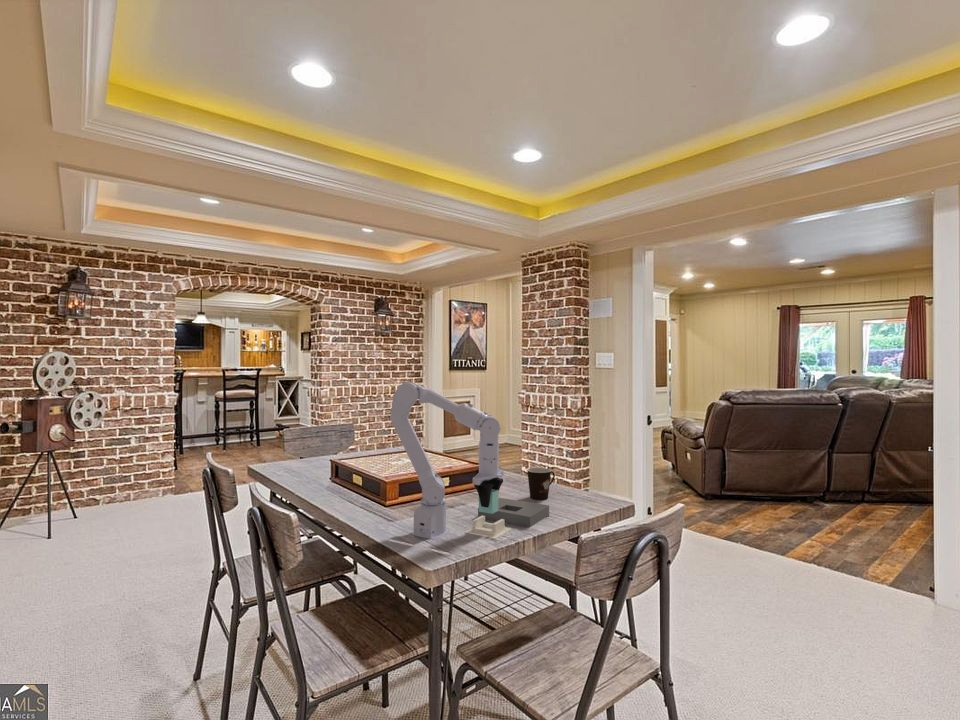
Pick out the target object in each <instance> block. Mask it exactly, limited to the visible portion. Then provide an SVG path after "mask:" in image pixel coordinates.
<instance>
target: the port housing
mask: <svg viewBox="0 0 960 720" xmlns="http://www.w3.org/2000/svg"><path fill="white" fill-rule="evenodd" d="M480 516H485V520H489V521H494V522H497V521H499V520H501V519H504V520H505V524H510V525H517V526H522V527H525V528H526V527H527V528H531V527H533V526H534V525H536V524H537V523H539V522H541V521H542V520H544V519H545V518H546V519H548V518H549V517H550V505H547V504H542V503H536V502H528V501H523V500H517V499H512V498H511V499H510V498H509V499H508V498H503V497H498V511H497V512H495V513H493V514H491V513H485V512H479V507H478V508H477V518H478V517H480ZM547 517H548V518H547Z"/></svg>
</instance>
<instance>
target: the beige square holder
mask: <svg viewBox="0 0 960 720" xmlns="http://www.w3.org/2000/svg"><path fill="white" fill-rule="evenodd" d="M505 525H506V523H505V520H504V519H501V520H499V521H494V522H492V523H491V522H487V521H486V519H485V516H480V517H478V516H477V517H476V518H475V519H472V527H471V528H470V529H468V530H466V531H464V533H466V534H470V535H475V536H481V537H485V538H490V539H497V538H499V537H500V536H502V535H504V534H505V533H507V532H509V531H510V530H512V528H511V527H506V526H505Z"/></svg>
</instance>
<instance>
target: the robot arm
mask: <svg viewBox="0 0 960 720" xmlns="http://www.w3.org/2000/svg"><path fill="white" fill-rule="evenodd" d="M416 401H418V404H431V405H433V406H436V407H437V408H439V409H442V410H444V411H446V412H447V413H450V414H452V415H453V416H454V419H455V421H456V422H459V423H460V424H462V425H464V426H465V427H468V428H470V429H472V430H474V431H478V432H480V433H479V443H478V473H477V474H476V475H475V476H473V477H472V485H473V486H474V488H475V489H476V492H477V494H478V499H479V498H480V503H481V506H482V507H489V503H490V494H491V490H492V489H495V490H498V493H499V492H500V489H501V487H502V484H503V483H504V478H502V477H503V476H504V473H505V472H504V471H505V470H504V469H503V468H499V466H500V456H499V453H500V441H499V438H500V437H499V434H500V432H501V426H500V423H499V421H498V420H497V419H496V417H494V416H493V415H492V414H489V412H487V411H482V410H480V409H478V408H475V407H474V404H472V403H471V402H468V403H466V402H463V403H460V404H458V403H456V402H454V401H453V400H451V399H449V398H448V397H446V396H444V395H441V394H440V393H438V392H437V391H434V390H432V389H431V388H429V387H426V386H423V385H420V384H419V385H418V384H416V383H415V382H414V381H405V382H403V383H401V384H400V385H398V386H397V388H396V390H395V392H394V393H393V395H392V402H391V410H390V416H389V417H390V418H389V419H390V422H391V424H392V425H393V428H394V430H395V432H396V434H397V436H398V438H399V440H400V442H401V444H402V446H403V448H404V450H405V452H406V454H407V457H408V458H409V460H410V462H411V465H412V467H413V469H414V471H415V473H416V475H417V478H418V482H419V484H420V487H421V496H422V498H421V499H420V505H419V506H418V507H417V508H415V510H414V512H413V532H412V533H410V535H411V536H415V537H420V538H425V539H430V540H435V539H438V538H439V537H441V536H444V535H445V534H446V535H447V533H450V532H452V531H453V529H452V528H447V499H446V497H445V495H446V493H445V492H446V491H445V488H446V484H445V481H444V479H443V478H442V477H441V476H440V475H439V474H437V472H436V470H435V469H434V467H433V465H432V464H431V461H430V459H429V458H428V456H427V453H426V452H425V450H424V448H423V445H422V443H421V441H420V438H419V437H418V435H417V433H416V431H415V428H414V427H413V425H412V423H411V420H410V419H409V416H410V413H411V411H412V407H413V406H414V405H415V403H416Z"/></svg>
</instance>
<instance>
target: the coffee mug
mask: <svg viewBox="0 0 960 720" xmlns="http://www.w3.org/2000/svg"><path fill="white" fill-rule="evenodd" d="M526 471H527V480H528V489H529V497H530V499H531V500H534V501H546V500H548V499H549V493H550V486H551V485H552V483H553V482H554V480H555V477H556V475H555V472H554V471H552V470H551V469H549V468H546V467H545V468H544V467H531V468H527V470H526ZM551 476H552V479H551Z"/></svg>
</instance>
